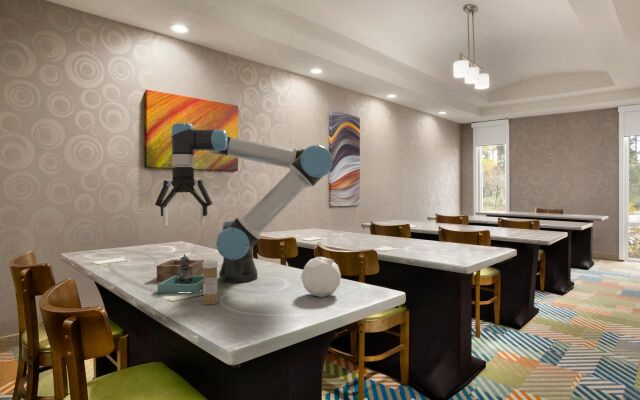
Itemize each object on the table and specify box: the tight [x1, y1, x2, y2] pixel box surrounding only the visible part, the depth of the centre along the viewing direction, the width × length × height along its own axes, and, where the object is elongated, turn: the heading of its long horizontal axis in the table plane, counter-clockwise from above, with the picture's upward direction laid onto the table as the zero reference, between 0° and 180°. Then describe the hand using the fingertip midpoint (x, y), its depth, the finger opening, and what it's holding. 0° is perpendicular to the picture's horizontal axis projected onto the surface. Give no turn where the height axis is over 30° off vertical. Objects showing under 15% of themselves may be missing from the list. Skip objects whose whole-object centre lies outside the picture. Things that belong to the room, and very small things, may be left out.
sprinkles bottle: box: [202, 259, 219, 306], centre depth 128 cm, size 5×5×13 cm
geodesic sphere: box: [300, 256, 342, 298], centre depth 137 cm, size 14×14×14 cm
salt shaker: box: [177, 254, 193, 284], centre depth 147 cm, size 6×6×12 cm
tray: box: [157, 275, 203, 294], centre depth 148 cm, size 14×14×3 cm
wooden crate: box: [156, 259, 205, 282], centre depth 166 cm, size 14×14×6 cm
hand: (184, 225), depth 148 cm, fingers open, 13 cm apart
